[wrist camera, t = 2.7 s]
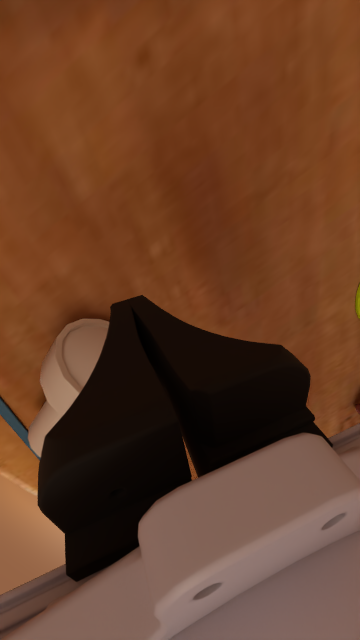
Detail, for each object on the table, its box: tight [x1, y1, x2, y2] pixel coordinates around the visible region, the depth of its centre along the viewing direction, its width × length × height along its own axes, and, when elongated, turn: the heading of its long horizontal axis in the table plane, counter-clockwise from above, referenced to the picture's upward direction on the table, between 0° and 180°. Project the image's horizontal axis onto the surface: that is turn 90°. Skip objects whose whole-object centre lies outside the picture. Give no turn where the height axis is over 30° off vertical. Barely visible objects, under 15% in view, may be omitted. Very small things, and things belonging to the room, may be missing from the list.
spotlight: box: [28, 319, 109, 457], centre depth 22 cm, size 8×11×8 cm
